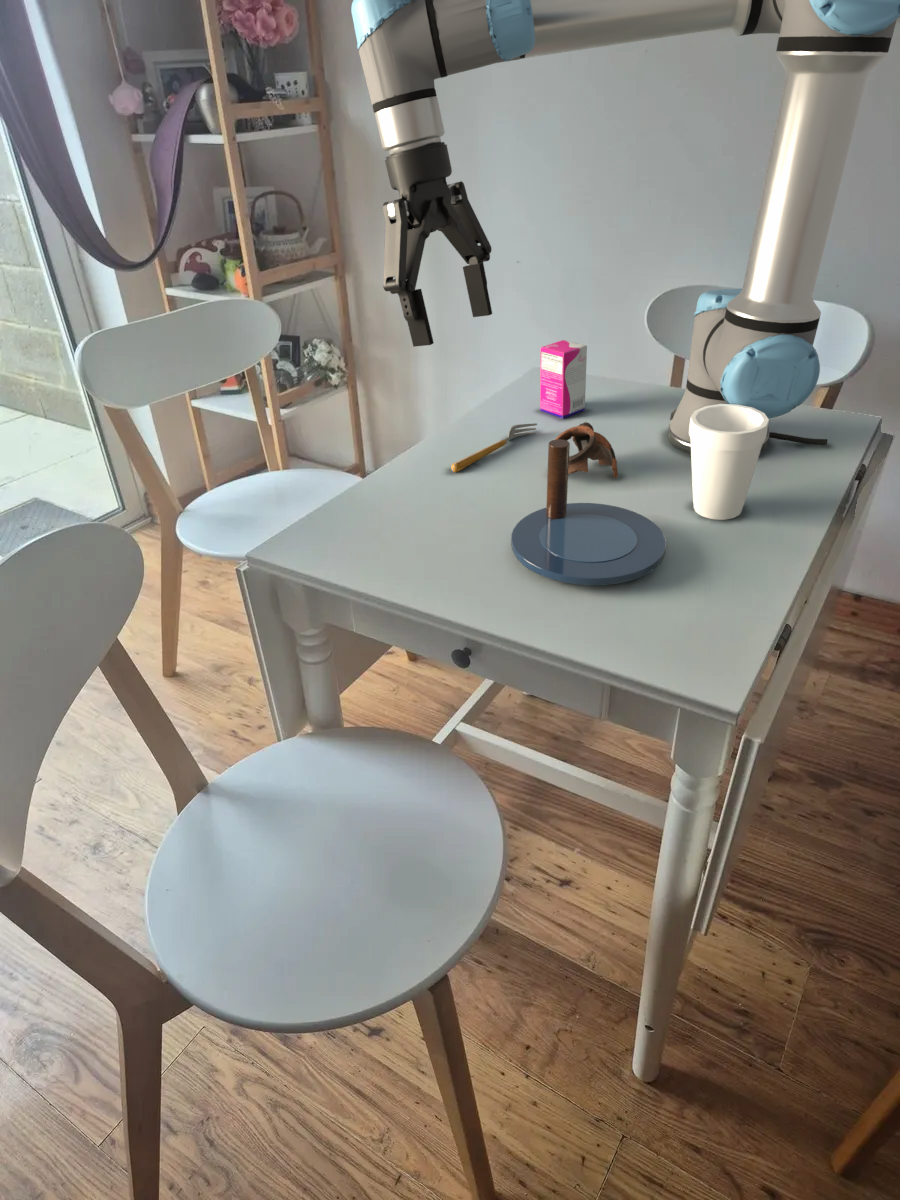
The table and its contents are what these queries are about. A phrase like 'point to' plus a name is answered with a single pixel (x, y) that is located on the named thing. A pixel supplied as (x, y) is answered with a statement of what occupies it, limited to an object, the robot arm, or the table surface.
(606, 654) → the table surface
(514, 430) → the fork
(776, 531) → the table surface
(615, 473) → the broken brown clay pot
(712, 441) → the foam cup
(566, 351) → the supplement box
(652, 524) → the blue disc with rod
